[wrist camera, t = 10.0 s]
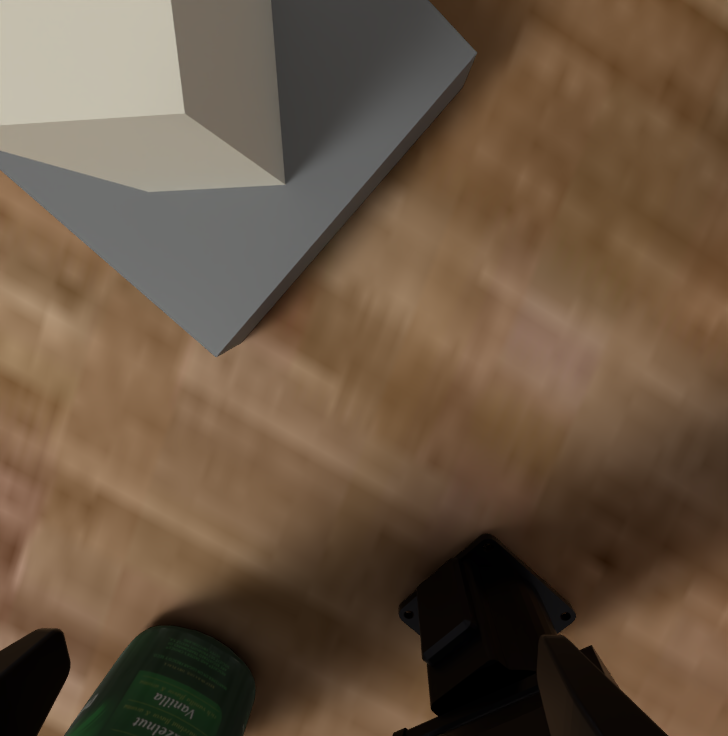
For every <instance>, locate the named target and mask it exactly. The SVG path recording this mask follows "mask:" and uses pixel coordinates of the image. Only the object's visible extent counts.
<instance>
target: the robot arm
mask: <svg viewBox="0 0 728 736" xmlns="http://www.w3.org/2000/svg"><path fill="white" fill-rule="evenodd" d="M487 543H490V544H492V545H491V546H490V547H484V545H485V544H487ZM406 611H412V612H411V613H406ZM564 612H567V613H566V614H562V613H564ZM399 617H400V619H401V620H402V621H403V622H404V623H406V624H407V625H408V626H409V627H410V628H412V629H413V630H414V631H415V632H416V633H418V634H419V635H420V638H421V650H422V659H423V661H425V662H426V663H427V673H428V684H429V695H430V706H431V710H432V711H433V712H434V713H435V714H436V715H437V716H438V717H436V718H433V719H431V720H429V721H427V722H424V723H422V724H420V725H418V726H415V727H413V728H411V729H409V730H408V729H407V728H403V729H401V730H399V731H397V732H394V733H393V736H668V735H667V734H666V733H665V732H664V731H663V730H662V729H661V728H660V727H659V726H658V725H657V724H656V723H655V722H654V721H653V720H651V719H650V718H649V717H648V716H647V715H646V714H645V713H644V712H643V711H642V710H641V709H640V708H639V707H638V706H637V705H636V704H635V703H634V702H633V701H632V700H631V699H630V698H629V697H628V696H627V695H626V694H624V693H623V692H622V691H621V690H620V688H619V687H618V685H617V684H616V682H615V681H614V679H613V677H612V676H611V674H610V673H609V671H608V670H607V668H606V667H605V665H604V663H603V662H602V660H601V659H600V657H599V656H598V654H597V653H596V651H595V649H594V648H593V646H592V645H590V646H588V647H586V648H584V649H581V650H579V649H578V648H577V647H576V646H575V645H574V644H573V643H572V642H570V641H569V640H568V639H567V638H566V637H565V636H563V635H557V634H558V633H559V632H560V631H562V630H563V629H564V628H566V627H567V626H568V625H570V624H571V623H572V622H573V621H574V620H575V618H576V614H575V612H574V610H573V608H572V606H571V605H570V604H569V603H568V602H567V601H566V600H565V599H564V598H562V597H561V596H560V595H559V594H558V593H557V592H556V591H555V590H553V589H552V588H551V587H550V586H549V585H548V584H547V583H546V582H545V581H543V580H542V579H541V578H540V577H539V576H538V575H537V574H536V573H534V572H533V571H532V570H531V569H530V568H529V567H528V566H527V565H526V564H524V563H523V562H522V561H521V560H520V559H519V558H518V557H517V556H515V555H514V554H513V553H512V552H511V551H510V550H509V549H508V548H506V547H505V546H504V545H503V544H502V543H501V542H500V541H499V540H498V539H496V538H495V537H494V536H492V535H491V534H483V535H481V536H480V537H478V538H477V539H476V540H475V541H474V542H473V543H471V544H470V545H469V546H468V547H467V548H465V549H464V550H463V551H462V552H461V553H460V554H458V555H457V556H456V557H455V558H452V559H450V560H449V561H447V562H446V563H445V564H444V565H443V566H442V567H440V568H439V569H438V570H437V571H436V572H435V573H433V574H432V575H431V576H430V577H429V578H428V579H426V580H425V581H424V582H423V583H422V584H420V585H419V586H418V587H417V590H416V591H415V592H414V593H413V594H411V595H410V596H409V597H408V598H407V599H406V600H404V601H403V602H402V603H401V604H400V606H399ZM69 671H70V658H69V653H68V649H67V645H66V641H65V637H64V633H63V632H62V631H61V630H60V629H57V628H41V629H37V630H35V631H33V632H31V633H30V634H28V635H26V636H25V637H23V638H21V639H20V640H18V641H16V642H15V643H13V644H11V645H9V646H8V647H6V648H4V649H3V650H1V651H0V736H37V735H38V733H39V731H40V729H41V727H42V725H43V723H44V721H45V719H46V717H47V716H48V714H49V712H50V710H51V708H52V706H53V704H54V702H55V700H56V698H57V696H58V695H59V693H60V691H61V689H62V687H63V685H64V683H65V681H66V679H67V677H68V674H69Z"/></svg>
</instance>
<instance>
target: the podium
mask: <svg viewBox="0 0 728 736" xmlns="http://www.w3.org/2000/svg"><path fill="white" fill-rule="evenodd" d="M271 7H272V20H273V33H274V46H275V59H276V72H277V85H278V97H279V110H280V123H281V136H282V149H283V162H284V175H285V185H272V186H253V187H234V188H215V189H197V190H178V191H159V192H147V191H144V190H140V189H136V188H133V187H129V186H126V185H122V184H118V183H115V182H111V181H108V180H104V179H100V178H97V177H93V176H90V175H86V174H82V173H79V172H75V171H72V170H68V169H64V168H61V167H57V166H54V165H50V164H46V163H43V162H39V161H36V160H32V159H28V158H25V157H21V156H18V155H14V154H10V153H7V152H3V151H0V170H1V171H2V172H3V173H5V174H6V175H7V176H8V177H9V178H10V179H11V180H13V181H14V182H15V183H16V184H17V185H18V186H20V187H21V188H22V189H23V190H24V191H25V192H26V193H28V194H29V195H30V196H31V197H32V198H33V199H34V200H36V201H37V202H38V203H39V204H40V205H41V206H43V207H44V208H45V209H46V210H47V211H48V212H49V213H51V214H52V215H53V216H54V217H55V218H56V219H57V220H59V221H60V222H61V223H62V224H63V225H64V226H66V227H67V228H68V229H69V230H70V231H71V232H72V233H74V234H75V235H76V236H77V237H78V238H79V239H80V240H82V241H83V242H84V243H85V244H86V245H87V246H89V247H90V248H91V249H92V250H93V251H94V252H95V253H97V254H98V255H99V256H100V257H101V258H102V259H103V260H105V261H106V262H107V263H108V264H109V265H110V266H112V267H113V268H114V269H115V270H116V271H117V272H118V273H120V274H121V275H122V276H123V277H124V278H125V279H126V280H128V281H129V282H130V283H131V284H132V285H133V286H135V287H136V288H137V289H138V290H139V291H140V292H141V293H143V294H144V295H145V296H146V297H147V298H148V299H149V300H151V301H152V302H153V303H154V304H155V305H156V306H158V307H159V308H160V309H161V310H162V311H163V312H164V313H166V314H167V315H168V316H169V317H170V318H171V319H172V320H174V321H175V322H176V323H177V324H178V325H179V326H181V327H182V328H183V329H184V330H185V331H186V332H187V333H189V334H190V335H191V336H192V337H193V338H194V339H195V340H197V341H198V342H199V343H200V344H201V345H202V346H204V347H205V348H206V349H207V350H208V351H209V352H210V353H212V354H213V355H214V356H215V357H218V356H219V355H221V354H223V353H225V352H226V351H228V350H230V349H232V348H233V347H235V346H237V345H239V344H240V343H241V342H242V341H243V340H244V339H245V338H246V337H247V336H248V334H249V333H250V332H251V331H252V330H253V329H254V327H255V326H256V325H257V324H258V323H259V322H260V321H261V319H262V318H263V317H264V316H265V315H266V314H267V312H268V311H269V310H270V309H271V308H272V307H273V306H274V304H275V303H276V302H277V301H278V300H279V299H280V297H281V296H282V295H283V294H284V293H285V292H286V290H287V289H288V288H289V287H290V286H291V285H292V284H293V282H294V281H295V280H296V279H297V278H298V277H299V275H300V274H301V273H302V272H303V271H304V270H305V269H306V267H307V266H308V265H309V264H310V263H311V262H312V260H313V259H314V258H315V257H316V256H317V255H318V254H319V252H320V251H321V250H322V249H323V248H324V247H325V245H326V244H327V243H328V242H329V241H330V240H331V239H332V237H333V236H334V235H335V234H336V233H337V232H338V230H339V229H340V228H341V227H342V226H343V225H344V224H345V222H346V221H347V220H348V219H349V218H350V217H351V215H352V214H353V213H354V212H355V211H356V210H357V209H358V207H359V206H360V205H361V204H362V203H363V202H364V200H365V199H366V198H367V197H368V196H369V195H370V194H371V192H372V191H373V190H374V189H375V188H376V187H377V185H378V184H379V183H380V182H381V181H382V180H383V179H384V177H385V176H386V175H387V174H388V173H389V172H390V170H391V169H392V168H393V167H394V166H395V165H396V163H397V162H398V161H399V160H400V159H401V158H402V157H403V155H404V154H405V153H406V152H407V151H408V150H409V148H410V147H411V146H412V145H413V144H414V143H415V142H416V140H417V139H418V138H419V137H420V136H421V135H422V133H423V132H424V131H425V130H426V129H427V128H428V127H429V125H430V124H431V123H432V122H433V121H434V120H435V118H436V117H437V116H438V115H439V114H440V113H441V112H442V110H443V109H444V108H445V107H446V106H447V105H448V103H449V102H450V101H451V100H452V99H453V98H454V97H455V95H456V94H457V93H458V92H459V91H460V90H461V88H462V87H463V85H464V83H465V80H466V78H467V76H468V73H469V71H470V69H471V66H472V64H473V62H474V59H475V57H476V54H477V52H476V51H475V50H474V49H473V48H472V47H471V46H470V45H469V43H468V42H467V41H466V40H465V39H464V38H463V37H462V36H461V35H460V34H459V33H458V32H457V31H456V29H455V28H454V27H453V26H452V25H451V24H450V23H449V22H448V21H447V20H446V19H445V18H444V17H443V15H442V14H441V13H440V12H439V11H438V10H437V9H436V8H435V7H434V6H433V5H432V4H431V3H430V1H429V0H271Z"/></svg>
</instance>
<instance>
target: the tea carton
mask: <svg viewBox="0 0 728 736" xmlns="http://www.w3.org/2000/svg"><path fill="white" fill-rule="evenodd" d="M0 151H3V152H7V153H10V154H14V155H18V156H21V157H25V158H28V159H32V160H36V161H39V162H43V163H46V164H50V165H54V166H57V167H61V168H64V169H68V170H72V171H75V172H79V173H82V174H86V175H90V176H93V177H97V178H100V179H104V180H108V181H111V182H115V183H118V184H122V185H126V186H129V187H133V188H136V189H140V190H144V191H147V192H159V191H178V190H197V189H215V188H234V187H253V186H272V185H285V175H284V162H283V149H282V136H281V123H280V110H279V97H278V85H277V72H276V59H275V46H274V33H273V20H272V7H271V0H0Z"/></svg>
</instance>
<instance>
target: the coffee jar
mask: <svg viewBox="0 0 728 736" xmlns="http://www.w3.org/2000/svg"><path fill="white" fill-rule="evenodd" d="M255 691H256V690H255V681H254V678H253V676H252V673H251V671H250V670H249V668H248V667H247V665H246V664H245V663H244V662H243V661H242V660H241V659H240V658H239V657H238V656H237V655H236V654H234V652H233V651H232V650H231V649H229V648H228V647H226V646H225V645H223V644H222V643H221V642H219V641H217V640H216V639H214V638H213V637H210V636H208V635H205V634H203V633H201V632H198V631H196V630H191V629H186V628H182V627H178V626H155V627H152V628H149V629H147V630H145V631H144V632H142V633H141V634H139V635H138V636H137V637H136V638H135V639H134V640H133V641H132V642H131V643H130V644H129V645H128V647H127V648H126V649H125V650H124V651H123V653H122V654H121V655H120V657H119V658H118V659H117V661H116V662H115V664H114V665H113V667H112V668H111V669H110V671H109V672H108V674H107V675H106V676H105V678H104V679H103V681H102V682H101V683H100V685H99V686H98V688H97V689H96V690H95V692H94V693H93V695H92V696H91V697H90V699H89V700H88V702H87V703H86V704H85V706H84V707H83V709H82V710H81V712H80V713H79V715H78V716H77V718H76V719H75V720H74V722H73V723H72V725H71V726H70V728H69V729H68V731H67V732H66V734H65V735H64V736H243V734H244V731H245V728H246V725H247V722H248V718H249V715H250V712H251V709H252V706H253V703H254V699H255Z"/></svg>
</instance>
